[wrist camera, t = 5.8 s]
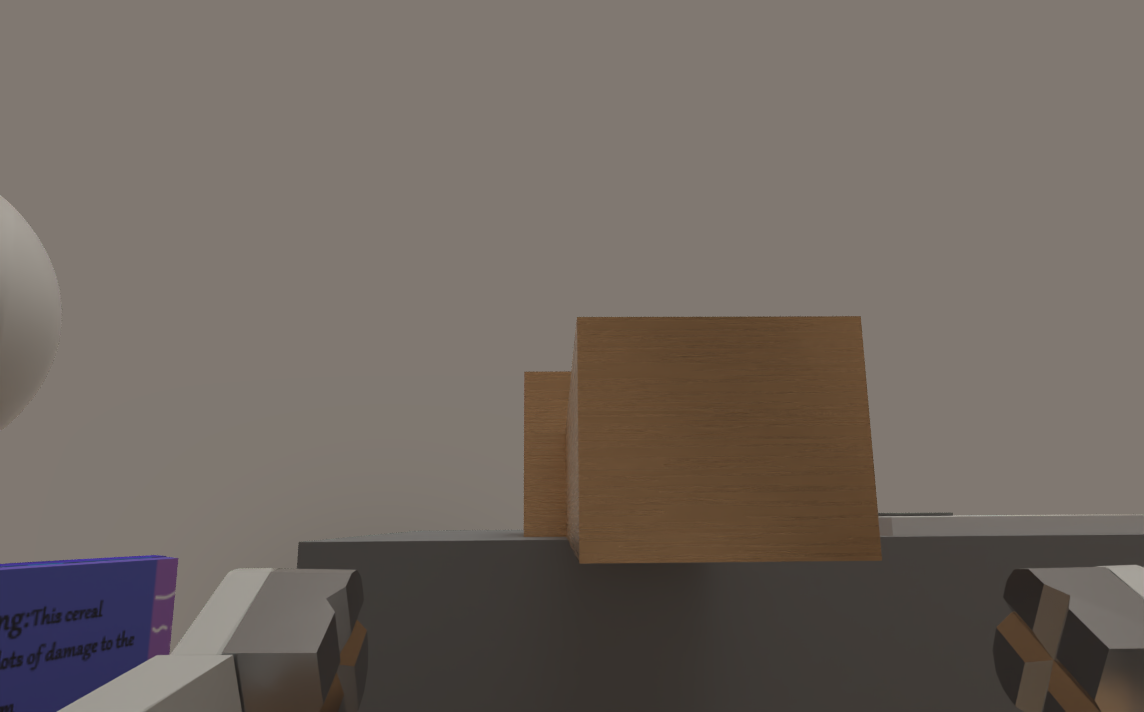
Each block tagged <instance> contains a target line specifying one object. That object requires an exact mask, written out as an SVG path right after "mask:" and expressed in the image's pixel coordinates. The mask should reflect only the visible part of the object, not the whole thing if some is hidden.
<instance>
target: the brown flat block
mask: <svg viewBox="0 0 1144 712" xmlns="http://www.w3.org/2000/svg"><path fill="white" fill-rule="evenodd" d="M524 388H525V390H524V391H525V392H524V395H525V396H524V397H525V398H524V400H525V401H524V537H566V538H567V540H568V542H569V544H570V546H571V548H572V550H573V552H574V554H575V556H576V558H577V560H578V562H579V564H588V563H692V562H795V561H882V554H881V543H880V531H879V520H878V509H877V498H876V486H875V475H874V464H873V452H872V441H871V429H870V418H869V408H868V407H869V406H868V395H867V384H866V372H865V361H864V350H863V339H862V327H861V317H860V316H851V317H850V316H845V317H844V316H842V317H841V316H840V317H837V316H836V317H577V323H576V332H575V342H574V351H573V361H572V371H571V372H525V383H524Z"/></svg>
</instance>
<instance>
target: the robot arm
mask: <svg viewBox="0 0 1144 712" xmlns="http://www.w3.org/2000/svg"><path fill="white" fill-rule="evenodd" d="M61 321H62V306H61V298H60V291H59V286H58V282H57V278H56V274H55V271H54V269H53V266H52V264H51V261H50V259H49V257H48V254H47V252H46V250H45V249H44V247H43V245H42V243H41V241H40V240H39V238H38V236H37V235H36V234H35V232H34V231H33V230H32V228H31V227H30V225H29V224H28V223H27V221H26V220H25V219H24V218H23V217H22V216H21V215H20V213H19V212H18V211H17V210H16V209H15V208H14V207H13V206H12V205H11V204H10V203H9V202H8V201H6V200H5V199H4V198H3V197H2V196H1V195H0V431H1V430H2V429H4V428H5V427H7V426H8V425H9V424H10V423H11V422H12V421H13V420H14V419H15V418H16V417H17V416H18V415H19V414H20V413H21V412H22V411H23V410H24V408H25V407H26V406H27V405H28V404H29V402H30V401H31V400H32V399H33V398H34V396H35V395H36V393H37V392H38V390H39V388H40V387H41V385H42V384H43V382H44V381H45V379H46V377H47V374H48V372H49V370H50V368H51V366H52V364H53V361H54V358H55V355H56V351H57V347H58V344H59V339H60V333H61ZM1003 598H1004V600H1005V602H1006V603H1007V605H1008V607H1009V608H1010V610H1011V613H1010V614H1009V615H1008V616H1007V617H1006V618H1005V619H1004V620H1003V621H1002V622H1001V623H1000V624H999V625H998V626H997V627H996V632H995V637H994V643H993V649H992V651H993V658H994V664H995V670H996V674H997V676H998V679H999V681H1000V683H1001V686H1002V688H1003V690H1004V691H1005V693H1006V694H1007V696H1008V697H1009V698H1010V700H1011V701H1012V703H1013V704H1014V705H1015V706H1016V707H1017V708H1019V709H1021V710H1022V711H1024V712H1144V567H1141V566H1138V565H1116V566H1095V567H1073V568H1026V569H1014V570H1013V572H1012V573H1011V575H1010V576H1009V577H1008V579H1007V581H1006V586H1005V590H1004V594H1003ZM363 601H364V595H363V587H362V578H361V576H360V574H359V572H358V571H357V570H340V569H282V568H279V569H274V568H248V569H246V568H245V569H244V568H241V569H235V570H232V571H230V572H229V573H228V574H227V575H226V576H225V578H224V579H223V580H222V582H221V583H220V585H219V586H218V588H217V589H216V591H215V592H214V593H213V595H212V596H211V597H210V599H209V600H208V602H207V603H206V605H205V606H204V607H203V609H202V610H201V612H200V613H199V614H198V616H197V617H196V619H195V621H194V622H193V623H192V624H191V626H190V627H189V629H188V630H187V632H186V633H185V634H184V636H183V637H182V639H181V640H180V641H179V643H178V644H177V646H176V647H175V649H174V650H173V651H172V653H171V654H170V655H156V656H154V657H153V658H151V659H149V660H147V661H146V662H144V663H142V664H140V665H138V666H137V667H135V668H133V669H131V670H130V671H128V672H126V673H124V674H123V675H121V676H119V677H117V678H115V679H114V680H112V681H110V682H108V683H107V684H105V685H103V686H101V687H100V688H98V689H96V690H94V691H92V692H91V693H89V694H87V695H85V696H84V697H82V698H80V699H78V700H76V701H75V702H73V703H71V704H69V705H68V706H66V707H64V708H62V709H61V710H59V711H57V712H357V711H358V710H359V707H360V704H361V700H362V697H363V694H364V690H365V683H366V677H367V670H368V637H367V630H366V629H365V628H364V627H363V625H362V624H361V623H360V622H359V621H358V620H357V618H358V615H359V612H360V609H361V607H362V604H363Z"/></svg>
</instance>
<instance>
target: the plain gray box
mask: <svg viewBox="0 0 1144 712" xmlns="http://www.w3.org/2000/svg"><path fill="white" fill-rule="evenodd" d="M878 520H879V531H880V543H881V554H882V561H795V562H692V563H588V564H579V562H578V560H577V558H576V556H575V554H574V552H573V550H572V548H571V546H570V544H569V542H568V540H567V538H566V537H524V530H472V531H471V530H463V531H461V530H460V531H412V532H401V533H390V534H380V535H369V536H359V537H348V538H337V539H326V540H316V541H305V542H299V547H298V563H297V569H340V570H357V571H358V572H359V574H360V576H361V578H362V587H363V595H364V601H363V604H362V607H361V609H360V612H359V615H358V618H357V620H358V621H359V622H360V623H361V624H362V625H363V627H364V628H365V629H366V630H367V637H368V670H367V677H366V683H365V690H364V694H363V697H362V700H361V704H360V707H359V710H358V711H357V712H1024V711H1022V710H1021V709H1019V708H1017V707H1016V706H1015V705H1014V704H1013V703H1012V701H1011V700H1010V698H1009V697H1008V696H1007V694H1006V693H1005V691H1004V690H1003V688H1002V686H1001V683H1000V681H999V679H998V676H997V674H996V670H995V664H994V658H993V651H992V649H993V643H994V637H995V632H996V627H997V626H998V625H999V624H1000V623H1001V622H1002V621H1003V620H1004V619H1005V618H1006V617H1007V616H1008V615H1009V614H1010V613H1011V610H1010V608H1009V607H1008V605H1007V603H1006V602H1005V600H1004V598H1003V594H1004V590H1005V586H1006V581H1007V579H1008V577H1009V576H1010V575H1011V573H1012V572H1013V570H1014V569H1026V568H1073V567H1095V566H1116V565H1138V566H1141V567H1144V515H999V516H998V515H993V516H992V515H989V516H988V515H987V516H986V515H985V516H953V513H878Z"/></svg>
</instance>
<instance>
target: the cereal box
mask: <svg viewBox="0 0 1144 712" xmlns="http://www.w3.org/2000/svg"><path fill="white" fill-rule="evenodd" d="M177 565H178V558H171V557H166V556H156V555H151V556H132V557H114V558H97V559H78V560H60V561H43V562H25V563H9V564H0V712H57V711H59V710H61V709H62V708H64V707H66V706H68V705H69V704H71V703H73V702H75V701H76V700H78V699H80V698H82V697H84V696H85V695H87V694H89V693H91V692H92V691H94V690H96V689H98V688H100V687H101V686H103V685H105V684H107V683H108V682H110V681H112V680H114V679H115V678H117V677H119V676H121V675H123V674H124V673H126V672H128V671H130V670H131V669H133V668H135V667H137V666H138V665H140V664H142V663H144V662H146V661H147V660H149V659H151V658H153V657H154V656H156V655H169V652H170V641H171V630H172V620H173V609H174V598H175V587H176V577H177Z"/></svg>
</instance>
